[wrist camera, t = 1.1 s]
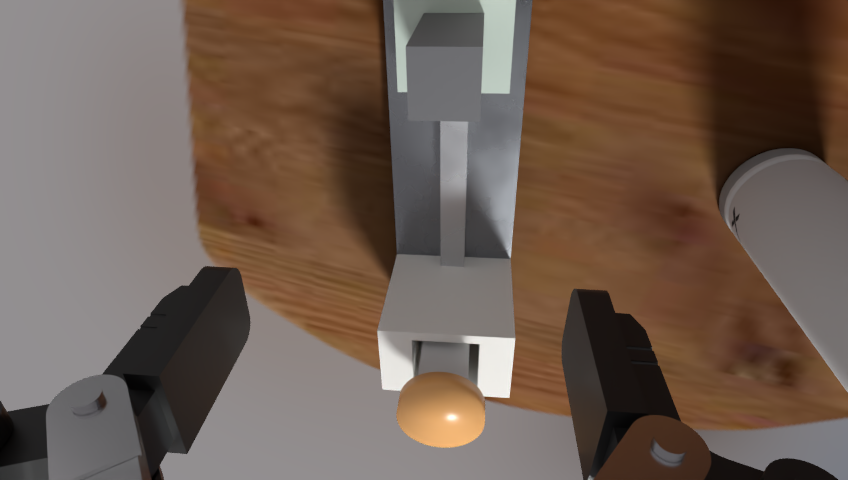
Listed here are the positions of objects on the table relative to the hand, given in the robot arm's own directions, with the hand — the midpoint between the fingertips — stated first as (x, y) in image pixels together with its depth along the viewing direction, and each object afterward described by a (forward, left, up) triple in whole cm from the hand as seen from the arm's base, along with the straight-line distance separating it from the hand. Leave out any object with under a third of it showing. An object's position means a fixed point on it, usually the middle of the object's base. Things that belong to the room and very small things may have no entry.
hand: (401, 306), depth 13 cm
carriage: (-2, 0, -21) cm, 21 cm away
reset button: (+16, 0, -16) cm, 22 cm away
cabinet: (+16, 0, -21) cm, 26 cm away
